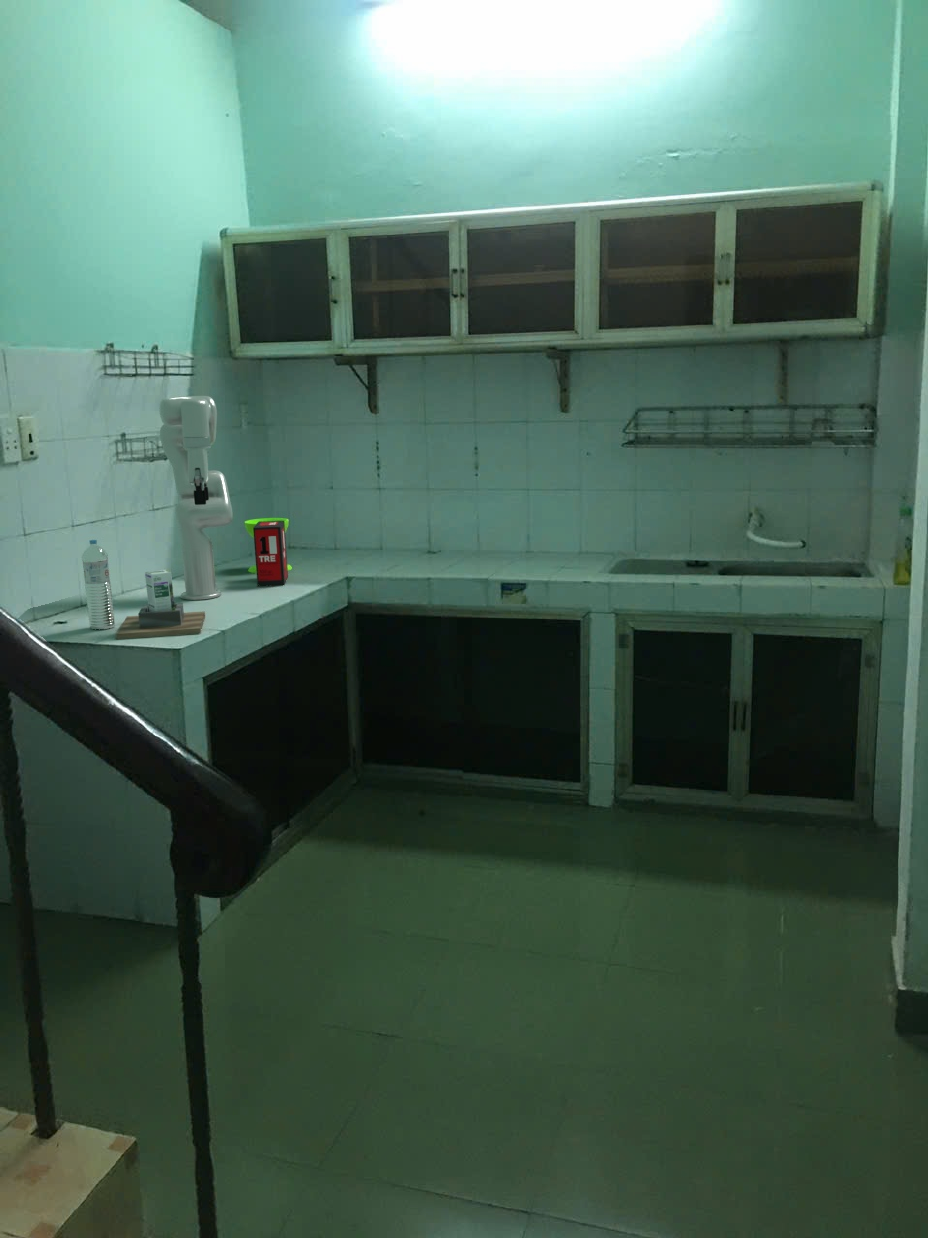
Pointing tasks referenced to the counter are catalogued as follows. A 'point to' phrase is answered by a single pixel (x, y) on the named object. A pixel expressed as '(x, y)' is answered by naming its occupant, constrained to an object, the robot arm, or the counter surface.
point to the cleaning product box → (270, 553)
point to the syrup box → (159, 590)
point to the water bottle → (98, 587)
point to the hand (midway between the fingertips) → (201, 502)
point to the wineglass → (249, 527)
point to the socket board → (161, 623)
